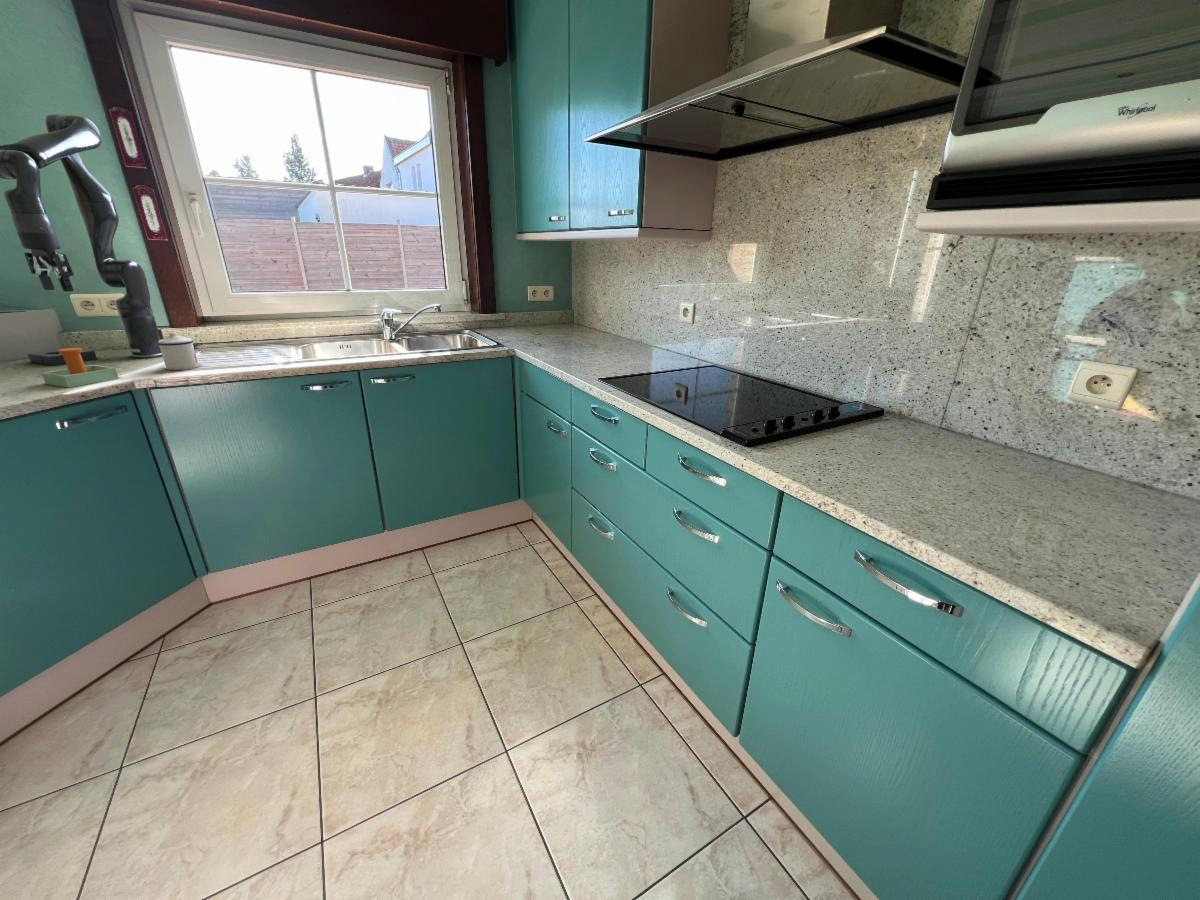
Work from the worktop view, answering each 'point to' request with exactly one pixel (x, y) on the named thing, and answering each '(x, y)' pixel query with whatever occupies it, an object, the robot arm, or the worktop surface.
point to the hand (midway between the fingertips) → (59, 290)
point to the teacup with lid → (178, 352)
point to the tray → (80, 376)
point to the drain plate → (58, 357)
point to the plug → (73, 360)
